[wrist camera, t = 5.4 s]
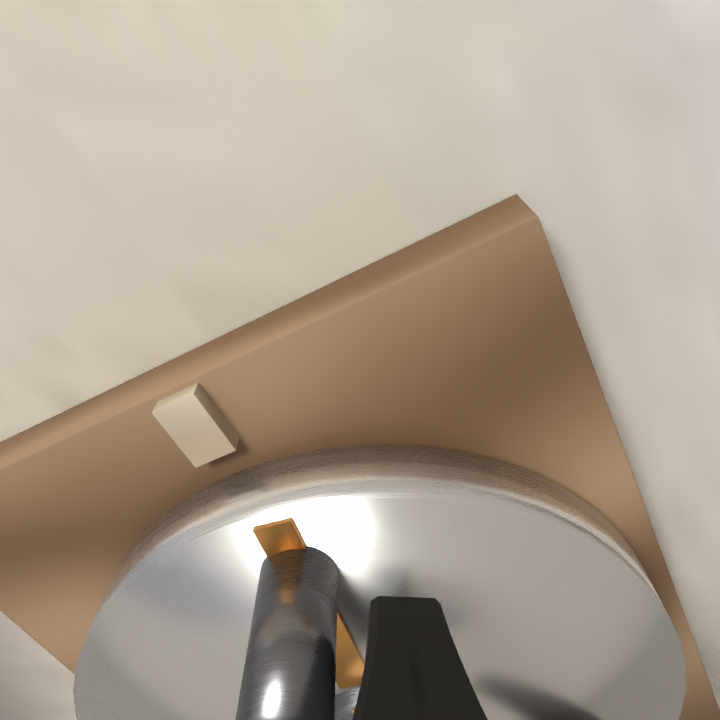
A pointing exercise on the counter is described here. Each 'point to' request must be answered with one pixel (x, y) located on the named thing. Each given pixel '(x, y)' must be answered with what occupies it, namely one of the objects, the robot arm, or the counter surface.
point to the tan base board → (330, 417)
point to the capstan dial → (378, 594)
